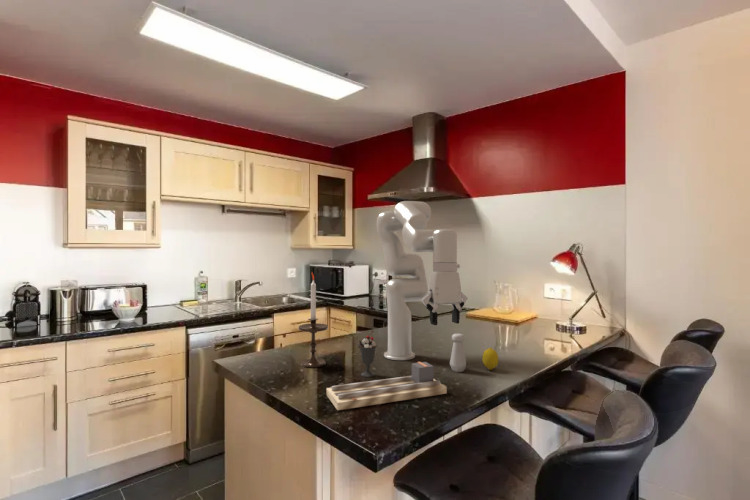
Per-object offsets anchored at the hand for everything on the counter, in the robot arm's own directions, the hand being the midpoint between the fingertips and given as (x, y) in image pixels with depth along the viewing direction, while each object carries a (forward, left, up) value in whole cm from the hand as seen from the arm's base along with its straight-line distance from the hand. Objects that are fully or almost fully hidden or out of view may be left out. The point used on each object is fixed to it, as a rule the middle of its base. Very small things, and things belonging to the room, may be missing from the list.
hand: (444, 323), depth 123 cm
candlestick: (-38, -34, -20) cm, 55 cm away
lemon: (-8, +24, -20) cm, 32 cm away
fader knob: (0, -8, -17) cm, 19 cm away
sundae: (-19, -19, -20) cm, 34 cm away
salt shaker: (-12, +13, -20) cm, 27 cm away
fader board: (0, -20, -20) cm, 28 cm away
